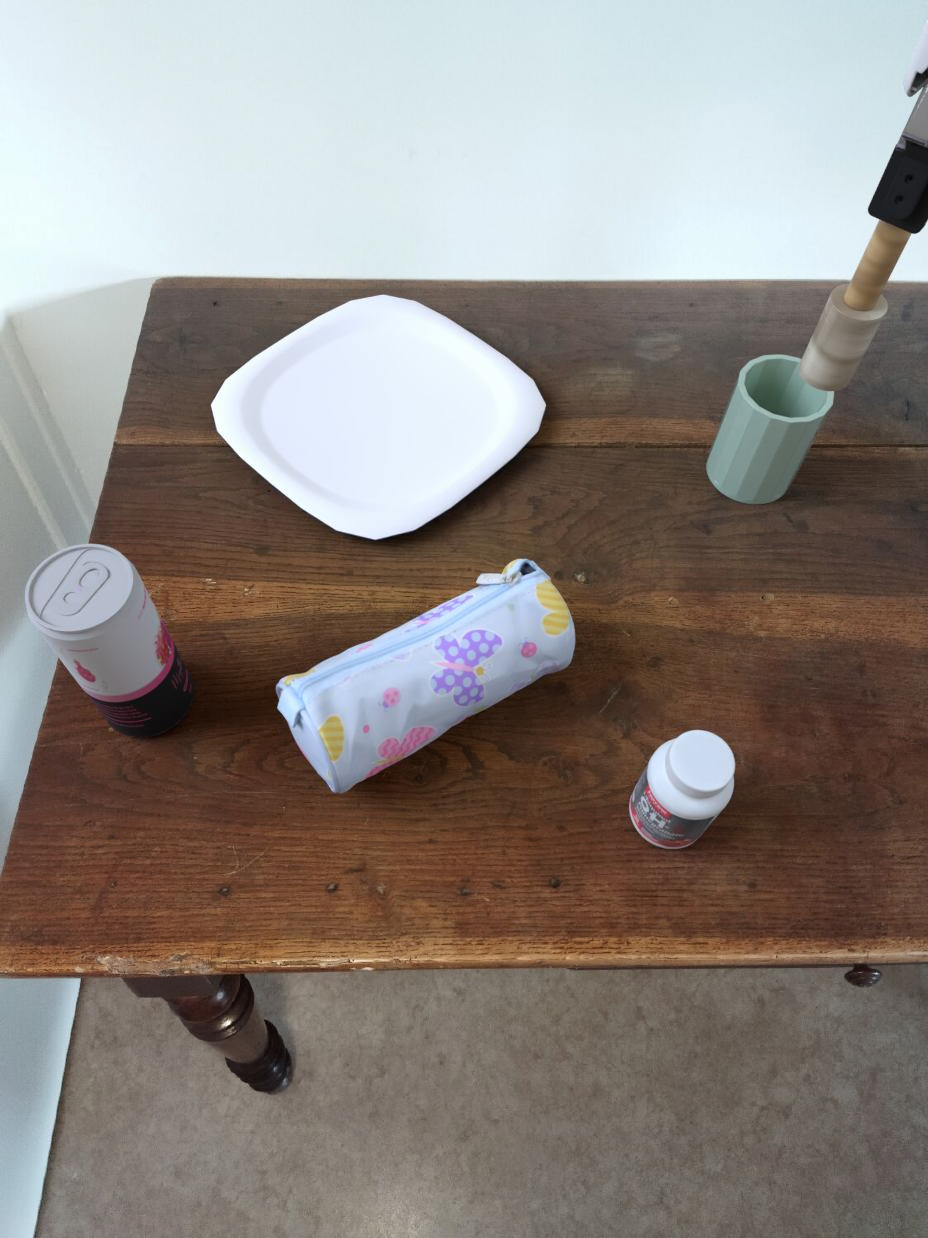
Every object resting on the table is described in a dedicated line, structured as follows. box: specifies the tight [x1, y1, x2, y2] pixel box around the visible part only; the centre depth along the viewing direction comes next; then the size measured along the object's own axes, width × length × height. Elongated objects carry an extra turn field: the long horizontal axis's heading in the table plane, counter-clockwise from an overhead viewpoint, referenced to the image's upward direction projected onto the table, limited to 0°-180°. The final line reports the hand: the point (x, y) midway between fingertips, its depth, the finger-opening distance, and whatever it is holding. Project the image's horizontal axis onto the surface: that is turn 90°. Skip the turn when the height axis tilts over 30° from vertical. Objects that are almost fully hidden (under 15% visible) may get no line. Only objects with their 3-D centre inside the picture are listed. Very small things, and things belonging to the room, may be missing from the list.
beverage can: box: [24, 543, 195, 738], centre depth 58 cm, size 7×6×15 cm
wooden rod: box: [799, 219, 913, 392], centre depth 54 cm, size 4×4×18 cm
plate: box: [210, 294, 547, 542], centre depth 79 cm, size 25×25×2 cm
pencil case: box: [275, 558, 576, 795], centre depth 61 cm, size 21×9×10 cm, turn 123°
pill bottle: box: [628, 729, 736, 850], centre depth 57 cm, size 5×5×10 cm
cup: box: [705, 353, 835, 505], centre depth 74 cm, size 7×7×10 cm
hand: (906, 206), depth 51 cm, fingers closed on wooden rod, 2 cm apart
